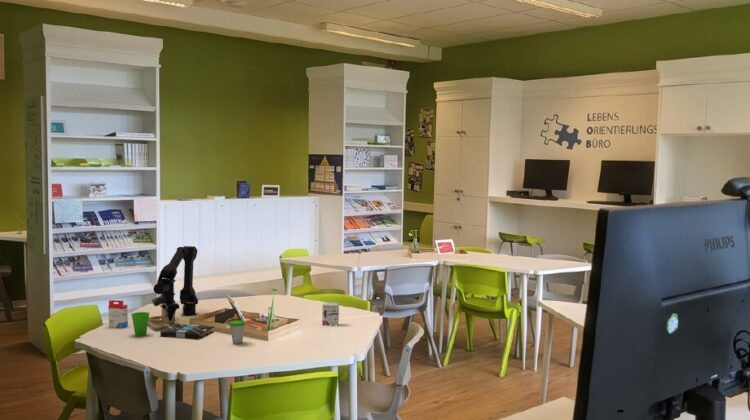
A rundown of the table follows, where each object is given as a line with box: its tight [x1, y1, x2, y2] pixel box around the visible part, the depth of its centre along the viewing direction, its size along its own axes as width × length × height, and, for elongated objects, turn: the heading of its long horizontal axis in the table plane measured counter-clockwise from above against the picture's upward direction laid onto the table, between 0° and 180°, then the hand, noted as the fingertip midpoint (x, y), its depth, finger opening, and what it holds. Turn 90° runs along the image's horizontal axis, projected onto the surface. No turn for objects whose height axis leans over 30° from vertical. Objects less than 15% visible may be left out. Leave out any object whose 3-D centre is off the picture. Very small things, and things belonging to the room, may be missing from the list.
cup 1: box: [130, 311, 151, 337], centre depth 334 cm, size 9×9×11 cm
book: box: [159, 323, 215, 341], centre depth 337 cm, size 22×17×5 cm
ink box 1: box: [108, 299, 129, 329], centre depth 350 cm, size 8×5×15 cm, turn 84°
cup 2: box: [229, 313, 246, 345], centre depth 321 cm, size 8×8×15 cm
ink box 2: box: [321, 302, 340, 326], centre depth 361 cm, size 8×5×12 cm, turn 86°
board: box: [147, 319, 172, 332], centre depth 355 cm, size 8×25×2 cm, turn 35°
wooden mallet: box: [149, 307, 176, 325], centre depth 358 cm, size 14×5×8 cm, turn 124°
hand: (168, 319), depth 360 cm, fingers closed on wooden mallet, 5 cm apart
